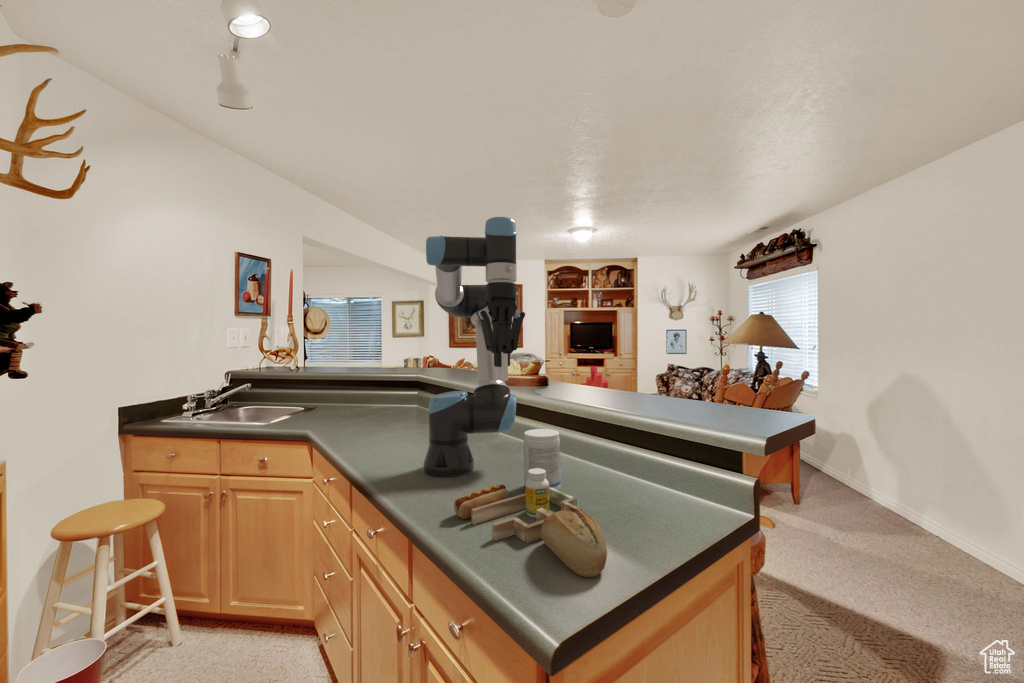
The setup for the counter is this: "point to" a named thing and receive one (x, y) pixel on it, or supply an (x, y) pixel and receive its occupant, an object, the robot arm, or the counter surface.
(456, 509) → the food
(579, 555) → the bread roll
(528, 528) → the light wood frame
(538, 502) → the supplement bottle
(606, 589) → the counter surface
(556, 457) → the supplement tub
